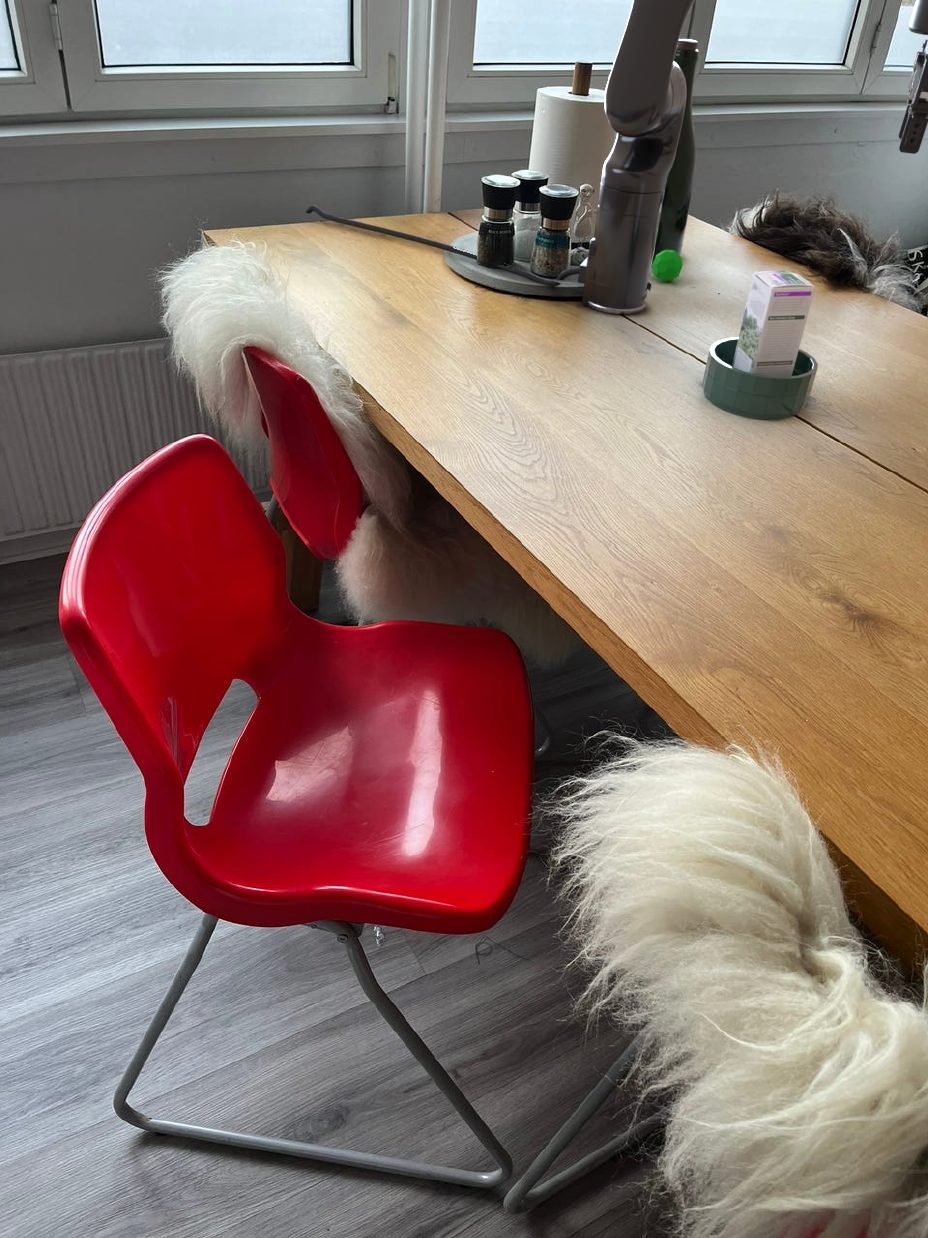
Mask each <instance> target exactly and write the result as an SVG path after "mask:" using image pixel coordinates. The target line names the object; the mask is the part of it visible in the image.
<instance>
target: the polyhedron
mask: <svg viewBox="0 0 928 1238" xmlns="http://www.w3.org/2000/svg"><path fill="white" fill-rule="evenodd" d="M683 266H684V262H683V257H682V256H681V254H680V255H679V254H678V253H676V252H675V251H673V250H664V251H662V252H660V253H659V254H657V255H656V257H655V260H654V261H653V262H652V267H651V271H652V274H653V276H654V277H656V278H657V279H658V280H659V281H660V282H663V283H670V282H673V281H675V280H676V279H678V278H679V277H680V274H681V272H682V270H683Z"/></svg>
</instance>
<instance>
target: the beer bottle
mask: <svg viewBox="0 0 928 1238" xmlns="http://www.w3.org/2000/svg"><path fill="white" fill-rule="evenodd" d="M698 44H699V42H698V41H697V40H695V39H691V38H679V42H678V46H677V50H676V54H675V58H674V62H675V63H676V64H677V65H678V66H679V67H680V69H681V70H682V72H683V75H684V77H685V81H686V104H685V111H684V116H683V121H682V126H681V131H680V136H679V141H678V145H677V150H676V155H675V159H674V162H673V165H672V167H671V169H670V172H669V174H668V177H667V180H666V185H665V191H664V197H663V203H662V209H661V214H660V220H659V226H658V232H657V238H656V243H655V249H654V255H653V261H652V262H654V260H655V257H656V255H657V254H659V253H660V252H662V251H664V250H673V251H675V252H676V253H678V254H679V255H680V256H681V254H682V251H683V246H684V240H685V234H686V230H687V223H688V218H689V212H690V206H691V199H692V194H693V188H694V184H695V183H694V182H695V173H696V168H697V159H698V158H697V157H698V156H697V152H698V151H697V149H698V147H697V140H696V133H695V127H694V126H695V125H694V119H693V94H694V93H693V91H694V84H695V78H696V70H697V65H698V63H699V58H700V51H699V49H697V48H698Z"/></svg>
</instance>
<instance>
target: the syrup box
mask: <svg viewBox="0 0 928 1238" xmlns="http://www.w3.org/2000/svg"><path fill="white" fill-rule="evenodd" d="M815 290H816V285H814V284H812V283H811V282H809V281H808V280H807V279H805V277H803V276H801V275H800V274H798V273H797V272H795V271H793V270H781V269H780V270H779V269H777V270H776V269H775V270H773V269H772V270H761V271H753V274H752V278H751V282H750V285H749V290H748V295H747V298H746V303H745V307H744V313H743V316H742V322H741V325H740V330H739V335H738V337H739V338H738V342H737V347H736V351H735V356H734V360H733V364H732V367H734V368H737V369H739V370H742V371H745V372H749V373H753V374H758V375H765V376H773V377H790V376H792V373H793V369H794V365H795V361H796V358H797V354H798V350H799V349H800V346H801V343H802V338H803V334H804V331H805V327H806V324H807V320H808V316H809V313H810V309H811V305H812V302H813V298H814V295H815V294H814V293H815Z"/></svg>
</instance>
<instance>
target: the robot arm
mask: <svg viewBox="0 0 928 1238" xmlns="http://www.w3.org/2000/svg"><path fill="white" fill-rule="evenodd" d="M695 1H696V0H632V4H631V9H630V12H629V16H628V19H627V23H626V26H625V29H624V33H623V34H622V35H623V36H622V38H621V41H620V44H619V47H618V49H617V53H616V56H615V59H614V61H613V65H612V68H611V71H610V74H609V75H608V81H607V83H606V87H605V92H604V111H605V116H606V119H607V121H608V123H609V125H610V127H611V128H612V130H613V131H614V132H615V133H616V139H615V142H614V145H613V147H612V149H611V151H610V153H609V154H608V157H607V158H606V160H605V161H604V164H603V166H602V172H601V178H600V179H601V180H600V188H599V195H598V204H597V210H596V217H595V225H594V233H593V237H592V239H590V241H589V246H588V252H587V257H586V258H585V259H584V260H583V261H582V262H581V264H580V265H579V266H578V267H573V268H567V269H565V270H563V271H561V272H560V274H559V275H558V276H557V278H556V279H558V280H563V281H564V280H565V278H567V277H569V276H573V275H578V276H577V283H578V284H579V283H580V284H583V291H582V298H581V305H582V306H587V307H589V308H592V309H594V310H597V311H598V312H603V313H608V314H615V315H631V314H637V313H639V312H642V311H644V310H645V309H646V304H647V300H646V299H647V298H648V297H647V296H648V291H649V292H651V291H652V283H651V282H650V277H651V272H652V266H653V262H654V261H653V255H654V249H655V243H656V238H657V232H658V226H659V220H660V214H661V209H662V203H663V197H664V191H665V185H666V180H667V177H668V174H669V172H670V169H671V167H672V165H673V162H674V159H675V155H676V150H677V145H678V141H679V136H680V131H681V126H682V121H683V116H684V111H685V104H686V81H685V77H684V75H683V72H682V70H681V69H680V67H679V66H678V65H677V64H676V63H675V62H674V58H675V54H676V50H677V46H678V42H679V39H681V38H680V37H681V34H682V31H683V28H684V25H685V23H686V20H687V17H688V15H689V13H690V10H691V9H692V7H693V4H694V3H695ZM911 13H912V14H911V17H910V20H909V23H908V30H909V32H911V33H913V34H918V35H923V36H928V0H915V4H914V6H913V10H912V12H911ZM921 48H922V49H921V51H917V52H916V53H915V58H914V61H913V65H912V73H911V76H910V79H909V83H908V87H907V88H908V90H907V92H908V95H907V96H906V101H907V102H906V109H905V112H904V114H903V119H902V121H901V125H900V127H899V131H898V139H899V140H900V143H899V146H898V150H899V152H900V153H904V154H913V155H915V154H917V153H918V152H919V151H920V149H921V146H922V142H923V138H924V136H925V134H926V129H927V126H928V39H925V40H924V42H923V43H922V45H921ZM313 212H315V213H316V214H317V215H318V216H320V217H321V218H322V219H324V220H327V221H331V222H334V223H338V224H343V225H347V226H350V227H355V228H359V229H364V230H368V231H372V232H375V233H380V234H382V235H383V234H384V235H388V236H391V237H395V238H399V239H402V240H403V239H404V240H406V241H407V240H408V241H411V242H415V243H419V244H422V245H426V246H429V247H433V248H436V249H440V250H444V251H447V252H450V253H453V254H457V255H460V256H462V257H466V258H469V259H472V260H474V261H478V260H477V256H476V255H473V254H470V253H467V252H463V251H460V250H457V249H454V248H453V247H455V248H456V247H457V246H454V245H451V244H447V243H444V242H441V241H436V240H433V239H429V238H426V237H421V236H417V235H414V234H411V233H406V232H402V231H398V230H394V229H390V228H386V227H382V226H378V225H374V224H369V223H365V222H361V221H357V220H353V219H349V218H344V217H340V216H337V215H332V214H330V213H326V212H324V211H323V210H322V209H321V208H320V207H318V206H317V205H310V206H308V208H306V210H305V214H312V213H313ZM491 266H493V267H495V268H498V269H500V270H503V271H505V272H509V273H512V274H515V275H517V276H520V277H523V278H525V279H527V280H529V281H531V282H535V283H537V284H541V285H544V286H548V287H557V286H560V285H561V284H562V283H558V282H555V281H554V280H555V279H545V278H543V277H540V276H537V275H535V274H534V273H531V272H529V271H527V272H528V273H526V272H522V271H518V270H515V269H512V268H509V267H507V266H504V265H497V266H494V265H491Z"/></svg>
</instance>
